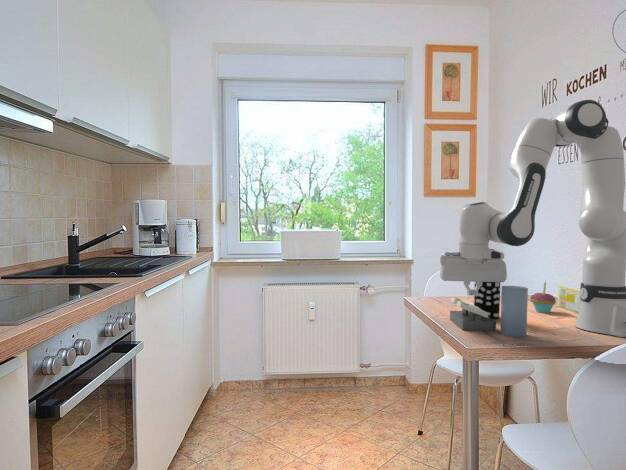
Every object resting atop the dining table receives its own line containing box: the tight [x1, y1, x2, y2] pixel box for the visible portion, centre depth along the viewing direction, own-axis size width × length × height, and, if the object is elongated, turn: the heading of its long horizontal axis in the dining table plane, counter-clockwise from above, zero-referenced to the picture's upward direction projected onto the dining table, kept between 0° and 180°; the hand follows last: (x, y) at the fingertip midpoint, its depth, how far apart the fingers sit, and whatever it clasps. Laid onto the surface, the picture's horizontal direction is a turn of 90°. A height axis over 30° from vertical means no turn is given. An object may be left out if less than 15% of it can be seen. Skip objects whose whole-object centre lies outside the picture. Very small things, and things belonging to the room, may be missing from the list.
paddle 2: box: [456, 299, 489, 318], centre depth 129 cm, size 9×4×2 cm, turn 86°
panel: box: [449, 308, 497, 332], centre depth 133 cm, size 10×14×5 cm
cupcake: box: [529, 280, 557, 314], centre depth 155 cm, size 9×8×12 cm
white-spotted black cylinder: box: [473, 282, 501, 321], centre depth 144 cm, size 8×8×20 cm
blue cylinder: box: [500, 285, 529, 338], centre depth 122 cm, size 7×7×14 cm
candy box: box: [556, 286, 581, 314], centre depth 158 cm, size 16×2×8 cm, turn 0°
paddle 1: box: [449, 296, 481, 310], centre depth 136 cm, size 9×4×2 cm, turn 86°
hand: (472, 295), depth 133 cm, fingers closed
